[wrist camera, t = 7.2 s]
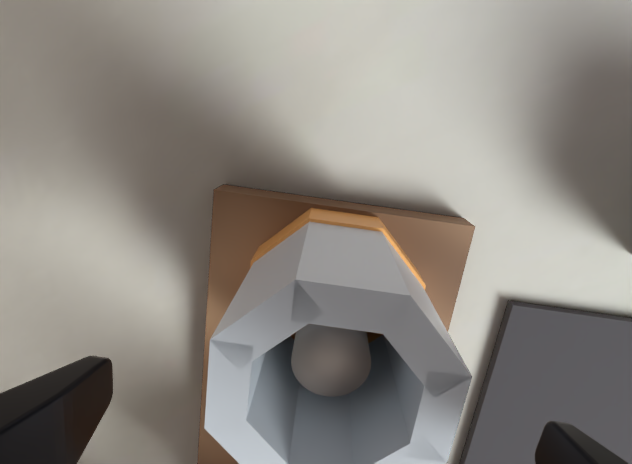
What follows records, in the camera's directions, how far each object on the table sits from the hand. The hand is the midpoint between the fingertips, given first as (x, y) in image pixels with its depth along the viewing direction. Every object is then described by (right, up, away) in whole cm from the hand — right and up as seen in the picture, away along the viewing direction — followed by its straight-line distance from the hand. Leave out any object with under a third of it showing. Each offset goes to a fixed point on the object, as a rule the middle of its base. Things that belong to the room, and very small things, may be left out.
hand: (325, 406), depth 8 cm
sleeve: (0, +2, +6) cm, 6 cm away
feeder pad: (+12, -5, +8) cm, 15 cm away
